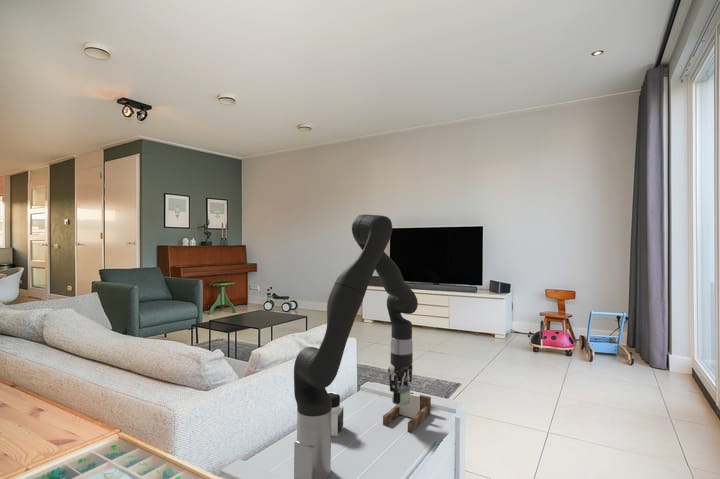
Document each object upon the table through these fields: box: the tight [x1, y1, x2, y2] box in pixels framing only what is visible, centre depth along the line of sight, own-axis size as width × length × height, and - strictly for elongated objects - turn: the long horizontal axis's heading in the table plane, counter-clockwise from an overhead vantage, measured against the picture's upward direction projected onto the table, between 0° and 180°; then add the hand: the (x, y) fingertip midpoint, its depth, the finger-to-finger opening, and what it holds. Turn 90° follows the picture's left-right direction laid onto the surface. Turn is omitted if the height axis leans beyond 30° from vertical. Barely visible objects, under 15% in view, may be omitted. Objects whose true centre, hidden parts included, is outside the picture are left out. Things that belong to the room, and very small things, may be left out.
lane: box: [382, 391, 432, 434], centre depth 138 cm, size 18×11×6 cm, turn 149°
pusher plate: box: [398, 394, 420, 419], centre depth 142 cm, size 7×7×8 cm
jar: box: [391, 384, 411, 406], centre depth 133 cm, size 6×6×5 cm
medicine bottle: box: [327, 391, 344, 438], centre depth 129 cm, size 7×7×12 cm
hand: (401, 399), depth 133 cm, fingers closed on jar, 6 cm apart
